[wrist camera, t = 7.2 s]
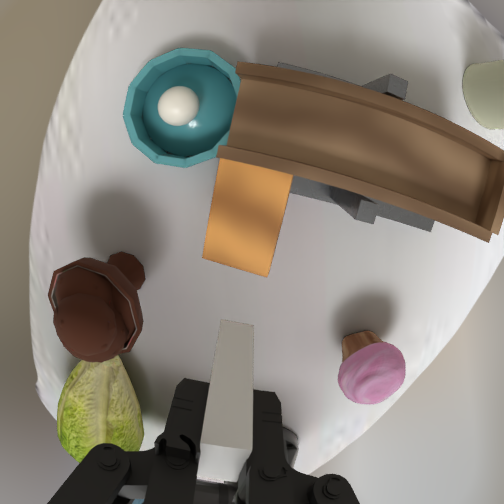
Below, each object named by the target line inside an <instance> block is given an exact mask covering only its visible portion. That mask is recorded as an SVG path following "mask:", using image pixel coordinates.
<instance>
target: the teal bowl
mask: <svg viewBox="0 0 504 504" xmlns="http://www.w3.org/2000/svg"><path fill="white" fill-rule="evenodd" d="M210 66H212V67H210ZM213 67H214V68H213ZM235 70H236V69H235V68H234V67H233V66H232V65H230V64H229V63H228V62H226V61H225V60H224V59H222V58H221V57H219V56H218V55H217V54H215V53H214V52H213V51H210V50H201V49H189V48H180V49H179V48H177V49H175V50H173V51H170V52H168V53H166V54H163V55H161V56H159V57H156V58H154V59H152V60H150V62H148V63H147V64H146V65H145V66H144V68H143V69H142V70H141V71H140V72H139V74H138V75H137V76H136V77H135V78H134V80H133V81H132V82H131V84H130V86H129V87H128V92H127V96H126V101H125V106H124V111H123V115H124V116H123V119H124V122H125V125H126V128H127V131H128V134H129V137H130V140H131V143H133V145H134V146H135V147H136V148H137V149H138V150H140V151H141V152H142V153H143V154H144V155H146V156H147V157H148V158H149V159H150V160H152V161H153V162H154V163H157V164H164V165H170V166H176V167H182V168H187V167H190V166H192V165H195V164H198V163H201V162H203V161H206V160H209V159H212V158H215V157H216V156H217V151H218V146H219V145H227V141H228V136H229V132H230V127H231V123H232V118H233V114H234V109H235V105H236V100H237V96H238V92H239V87H240V83H241V80H240V78H239V76H238V75H237V74H236V73H235ZM228 79H230V80H231V82H232V84H233V85H232V84H231V82H230V81H229V80H228ZM176 86H184V87H187V88H190V89H191V90H193V91H194V92H195V93H196V95H197V96H198V99H199V111H198V113H197V115H196V117H195V118H194V119H193V120H192V121H191V122H189V123H187V124H185V125H181V126H173V125H170V124H168V123H166V122H165V121H163V120H162V118H161V117H160V115H159V112H158V102H159V99H160V97H161V96H162V94H163V93H164V92H165V91H167V90H168V89H170V88H172V87H176ZM166 151H167V152H166ZM168 152H169V153H168ZM170 153H172V154H170ZM193 155H195V156H193ZM189 156H192V157H189Z"/></svg>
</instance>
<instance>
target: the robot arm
mask: <svg viewBox="0 0 504 504" xmlns="http://www.w3.org/2000/svg"><path fill="white" fill-rule="evenodd" d="M253 355H254V325H249V324H244V323H238V322H233V321H228V320H222V319H221V323H220V329H219V334H218V339H217V345H216V350H215V355H214V361H213V367H212V372H211V378H210V383H206V382H201V381H196V380H191V379H187V378H184V379H183V380H182V381H181V382H180V383H179V384H178V385H177V387H176V390H175V394H174V398H173V401H172V404H171V408H170V412H169V415H168V419H167V423H166V426H165V430H164V433H162V434H161V435H159V436H158V437H157V439H156V441H155V442H154V444H155V447H154V448H153V449H150V450H147V451H124V450H123V449H122V448H121V447H119V446H117V445H114V444H112V443H102V444H98V445H96V446H95V447H93V448H92V449H91V450H90V451H89V452H88V454H87V455H86V456H85V457H84V459H83V460H82V461H81V462H80V464H79V465H78V466H77V467H76V468H75V470H74V471H73V472H72V474H71V475H70V476H69V477H68V478H67V480H66V481H65V482H64V483H63V485H62V486H61V487H60V488H59V490H58V491H57V492H56V493H55V495H54V496H53V497H52V498H51V500H50V501H49V502H48V503H47V504H360V503H359V501H358V499H357V497H356V495H355V493H354V491H353V489H352V487H351V485H350V484H349V483H348V481H347V480H346V479H345V478H343V477H342V476H340V475H336V474H326V475H324V476H321V477H319V478H317V477H313V476H310V475H306V474H303V473H300V472H298V471H296V470H295V469H293V467H294V464H295V461H296V457H297V454H298V440H297V437H296V435H295V434H294V433H293V432H291V431H289V430H287V429H285V428H283V426H282V415H281V402H280V401H279V399H278V397H277V395H276V394H275V392H268V391H260V390H253ZM197 477H202V478H208V479H215V480H222V481H224V484H223V483H217V482H211V481H206V480H200V479H197Z"/></svg>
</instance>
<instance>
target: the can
mask: <svg viewBox="0 0 504 504" xmlns="http://www.w3.org/2000/svg"><path fill="white" fill-rule="evenodd" d="M463 93H464V97H465V101H466V104H467V106H468V108H469V110H470V112H471V114H472V116H473V117H474V118H475V120H476V121H477V122H478V123H479V124H480V125H482V126H483V127H485V128H487V129H504V60H498V61H493V62H487V63H481V64H479V63H475V64H472V65H470V66H469V67H468V68H467V69H466V71H465V73H464V76H463Z"/></svg>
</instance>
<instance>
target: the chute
mask: <svg viewBox="0 0 504 504" xmlns="http://www.w3.org/2000/svg"><path fill="white" fill-rule="evenodd" d="M235 73H236V74H237V75H238V76H239V77H240V78H241V83H240V87H239V92H238V96H237V100H236V105H235V109H234V114H233V118H232V123H231V127H230V132H229V136H228V141H227V145H219V146H218V151H217V156H216V157H218V158H220V161H219V166H218V171H217V177H216V182H215V187H214V192H213V198H212V203H211V209H210V214H209V220H208V226H207V232H206V238H205V244H204V250H203V256H202V258H204V259H207V260H211V261H214V262H217V263H220V264H224V265H227V266H230V267H234V268H237V269H240V270H244V271H247V272H251V273H254V274H257V275H261V276H264V277H267V276H268V274H269V271H270V267H271V263H272V259H273V256H274V252H275V248H276V244H277V240H278V236H279V232H280V228H281V224H282V220H283V216H284V212H285V209H286V205H287V201H288V196H289V192H290V188H291V184H292V180H293V176H294V175H295V176H299V177H303V178H306V179H310V180H314V181H317V182H321V183H324V184H328V185H331V186H335V187H338V188H342V189H345V190H348V191H351V192H355V193H358V194H361V195H364V196H367V197H370V198H373V199H377V200H380V201H383V202H386V203H388V204H391V205H394V206H397V207H400V208H403V209H406V210H408V211H411V212H414V213H417V214H419V215H422V216H425V217H427V218H430V219H433V220H435V221H438V222H440V223H443V224H445V225H448V226H450V227H453V228H455V229H458V230H460V231H463V232H465V233H467V234H470V235H472V236H474V237H477V238H479V239H481V240H483V241H486V242H488V243H489V241H490V238H491V235H492V233H495V234H497V235H498V234H499V231H500V228H501V225H502V222H503V218H504V150H502V149H500V148H499V147H497V146H496V145H494V144H492V143H490V142H489V141H487V140H485V139H483V138H482V137H480V136H478V135H476V134H474V133H472V132H471V131H469V130H467V129H465V128H463V127H461V126H459V125H457V124H455V123H453V122H451V121H449V120H447V119H444V118H442V117H440V116H438V115H436V114H433V113H431V112H429V111H427V110H424V109H422V108H419V107H417V106H415V105H412V104H410V103H407V102H404V101H402V100H399V99H396V98H394V97H391V96H388V95H385V94H382V93H379V92H376V91H373V90H370V89H367V88H364V87H361V86H357V85H354V84H350V83H347V82H343V81H340V80H336V79H332V78H328V77H324V76H320V75H315V74H311V73H306V72H301V71H296V70H291V69H286V68H280V67H274V66H268V65H261V64H254V63H246V62H237V66H236V70H235Z"/></svg>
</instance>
